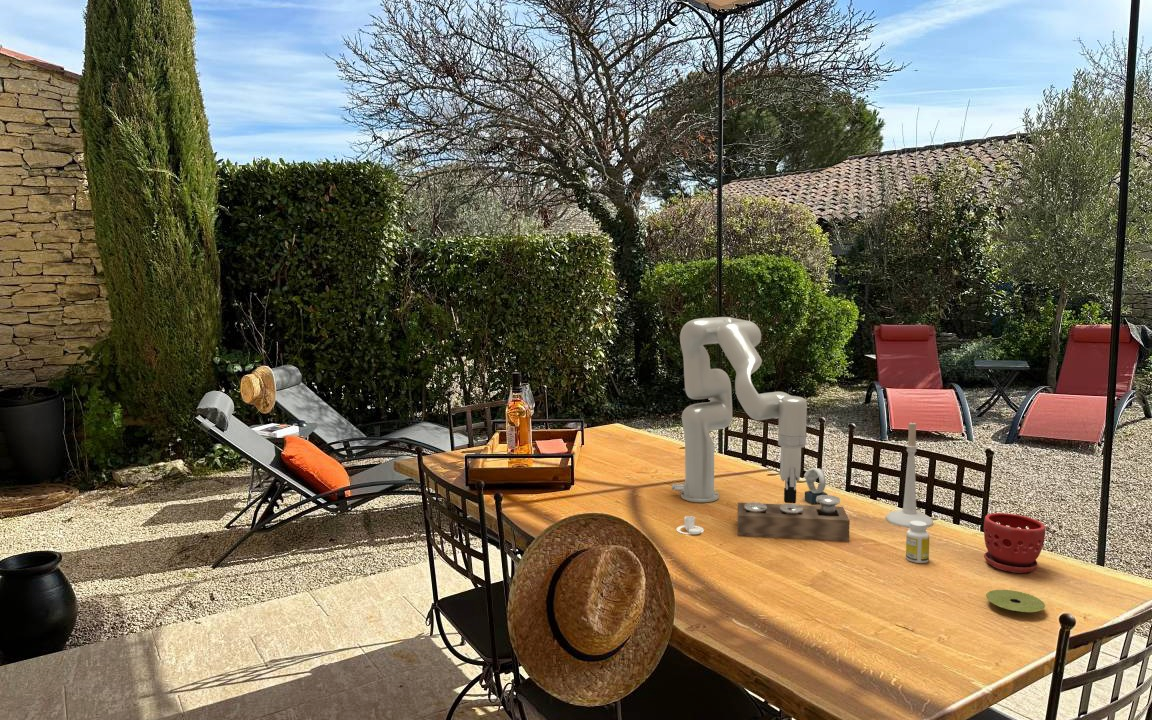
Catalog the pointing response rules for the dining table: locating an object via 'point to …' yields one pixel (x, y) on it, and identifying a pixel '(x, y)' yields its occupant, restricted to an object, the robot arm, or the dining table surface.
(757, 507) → the knob
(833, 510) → the knob
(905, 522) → the candlestick
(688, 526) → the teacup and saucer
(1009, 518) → the plant pot
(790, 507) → the knob mid
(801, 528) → the knob bar
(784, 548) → the dining table surface
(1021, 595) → the mat
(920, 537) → the supplement bottle
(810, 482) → the watch
